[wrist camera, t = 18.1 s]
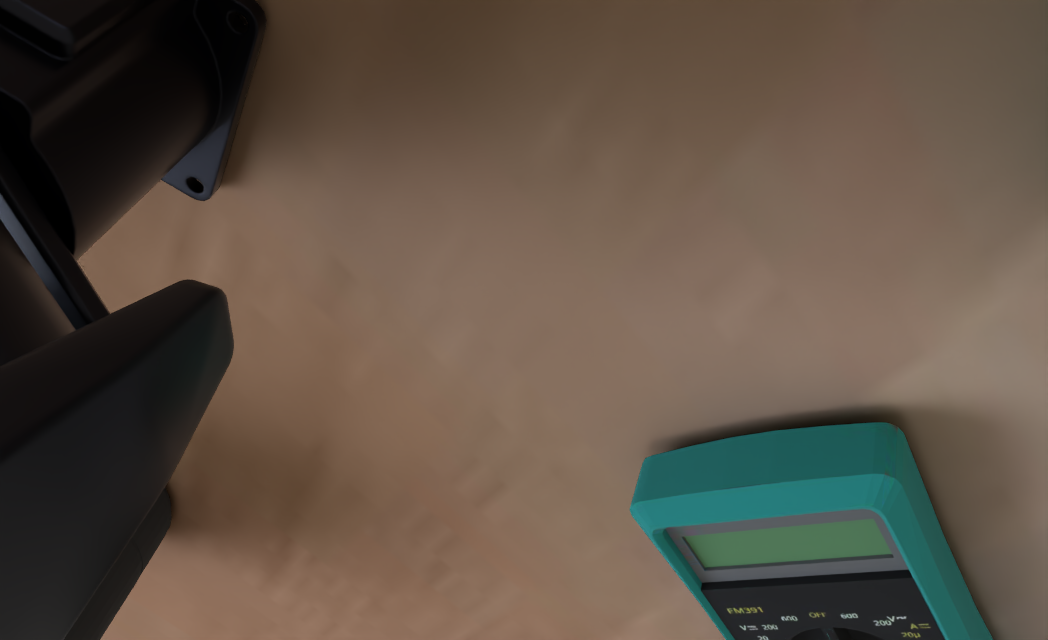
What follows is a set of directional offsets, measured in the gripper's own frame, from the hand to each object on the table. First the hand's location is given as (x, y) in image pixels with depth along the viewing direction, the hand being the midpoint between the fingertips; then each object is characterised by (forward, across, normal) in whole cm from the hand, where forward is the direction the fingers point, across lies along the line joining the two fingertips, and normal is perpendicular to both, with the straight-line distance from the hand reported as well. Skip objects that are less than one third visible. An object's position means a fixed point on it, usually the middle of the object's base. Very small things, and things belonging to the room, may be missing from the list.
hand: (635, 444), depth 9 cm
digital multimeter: (+12, -7, +18) cm, 23 cm away
